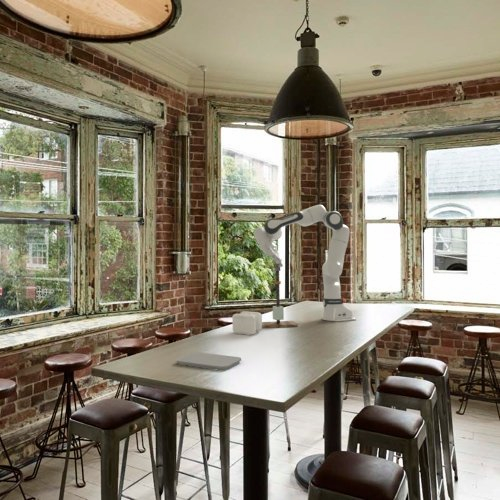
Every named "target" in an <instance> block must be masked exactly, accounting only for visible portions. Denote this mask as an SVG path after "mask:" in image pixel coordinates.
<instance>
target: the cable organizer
mask: <svg viewBox="0 0 500 500" xmlns="http://www.w3.org/2000/svg"><path fill="white" fill-rule="evenodd" d="M262 316H263V315H262V313H261V312H257V311H256V312H255V311H247V310H243V311H241V312H240V313H234V314H232V320H231V321H232V332H233V333H234V334H235V333H236V335H237V334H238V335H242V334H244V335H247V336H252V335H255V334H256V333H259V332H262V330H263V328H262V322H263V317H262Z"/></svg>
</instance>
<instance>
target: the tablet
mask: <svg viewBox="0 0 500 500" xmlns="http://www.w3.org/2000/svg"><path fill="white" fill-rule="evenodd" d="M241 361H242V358H241V357H240V356H234V355H225V354H215V353H207V352H198V351H197V352H196V351H195V352H190V353H188V354H186V355H182V356H181V357H178V358H176V362H177V364H178V365H180V366H185V365H188V366H187V367H192V366H195V367H194V368H199V367H202V368H201V369H206V368H209V370H213V369H217V370H216V371H227V370H226V369H228V370H229V368H230V369H232V368H234V367H236V366H237V365H239V364H240V362H241ZM231 367H232V368H231Z"/></svg>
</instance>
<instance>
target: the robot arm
mask: <svg viewBox="0 0 500 500" xmlns="http://www.w3.org/2000/svg"><path fill="white" fill-rule="evenodd" d="M343 219H344V218H343V217H342V215H341V213H340V212H338V211H337V210H333V211H327V209H326V207H325V206H324V205H323V204H316V205H313V206H310V207H308V208H304V209H302V210H301V211H296V212H293V213H289V214H287V215H283V216H280V217H276V218H275V217H274V218H269V219H267V220H266V221H265V223H264V226H258V227H256V228H255V229H254V231H253V236H254V239H255V241H256V242H257V244H258V245H259V247H260V249H261V251H262V252H263V253H264V254H265V255H267V256H268V257H269V258H270V259H272V260H273V261H274V263H275V264H280V268H282V267H284V265H283V263H282V261H283V260H282V258H281V256H280V253H279V252H278V249H277V246H276V244H275V243H274V242H275V241H278V240H279V239H280V238H281V237H282V235H283V231H282V228H284V227H286V226H289V225H292V224H297V225H299V226H302V227H309V226H311V225H313V224H317V223H319V222H321V223H322V224H323V226H325V228H327V229H331V230H332V236H331V240H330V243H329V246H328V250H327V251H328V253H327V259H326V261H325V262H324V263H323V264H322V268H321V270H322V272H321V273H322V281H323V282H322V283H323V299H322V305H323V311H322V316H321V320H323V321H328V322H330V321H331V322H347V321H356V320H357V317H356V316H353V311H352V309H351V308H350V307H348V306H347V305H346V304H345V303H346V302H347V300H346V298H343V297H342V296H341V295H342V294H341V292H342V291H341V289H342V288H341V282H340V276H341V275H342V274H343V268H344V262H345V255H346V251H347V247H348V243H349V239H350V228H349V226H347V225H345V224H344V220H343Z"/></svg>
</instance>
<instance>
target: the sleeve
mask: <svg viewBox="0 0 500 500" xmlns="http://www.w3.org/2000/svg"><path fill="white" fill-rule="evenodd" d="M284 309H285V307H284V306H282V305H280V307H276V305H275V306H274V305H273V306H272V320H274V321H277V320H280V321H285V318H284V314H285V313H284Z"/></svg>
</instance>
